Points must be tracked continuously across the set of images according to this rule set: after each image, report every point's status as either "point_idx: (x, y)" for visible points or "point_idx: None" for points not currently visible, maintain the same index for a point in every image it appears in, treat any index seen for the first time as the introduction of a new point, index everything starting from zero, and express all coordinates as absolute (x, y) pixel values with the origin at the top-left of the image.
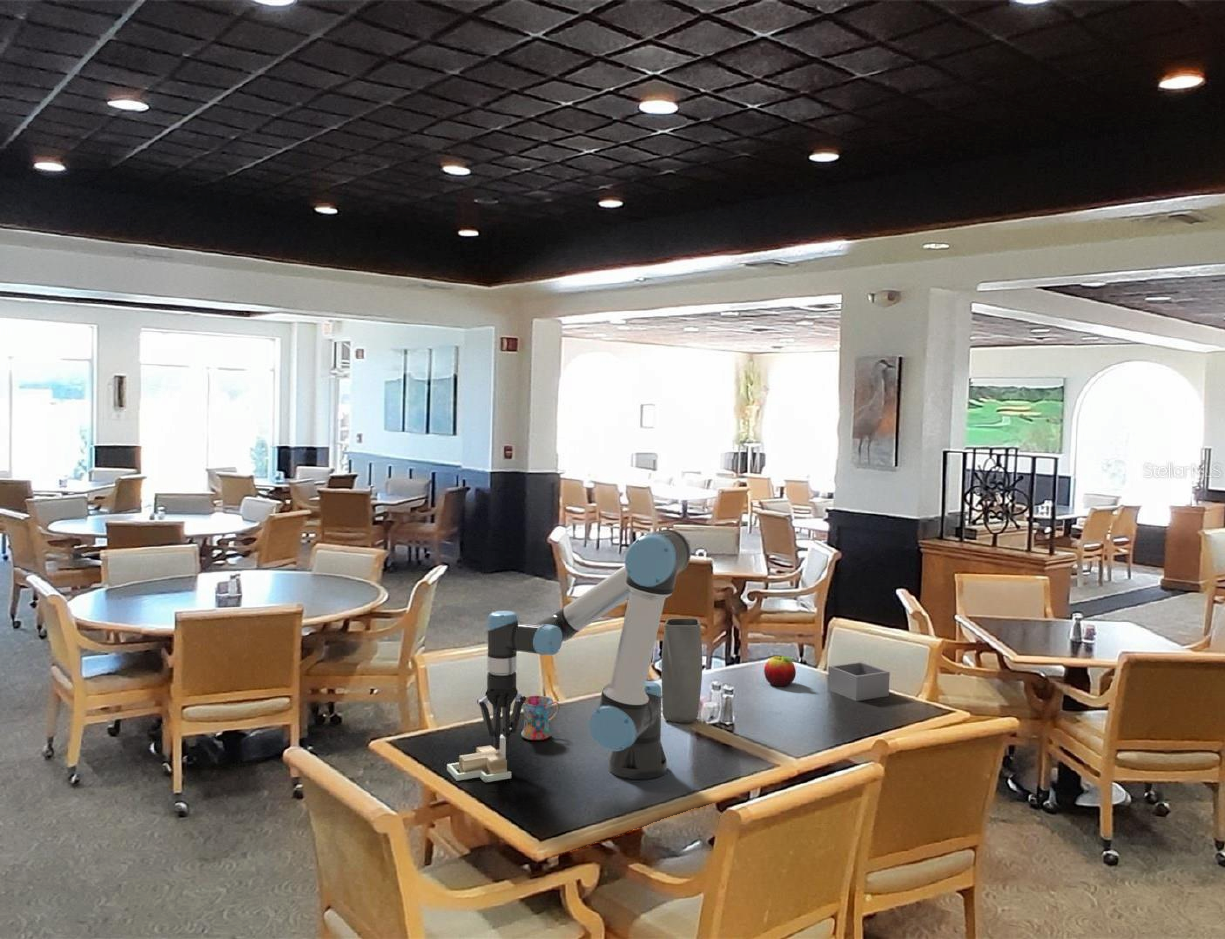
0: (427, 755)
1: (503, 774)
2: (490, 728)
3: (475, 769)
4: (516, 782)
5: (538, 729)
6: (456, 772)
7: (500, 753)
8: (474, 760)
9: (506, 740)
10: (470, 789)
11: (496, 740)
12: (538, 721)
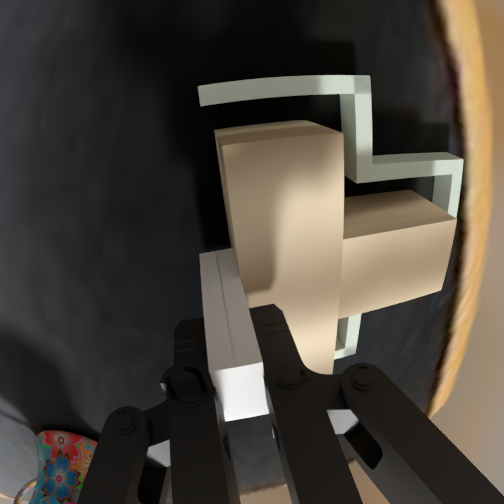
0: (409, 379)
1: (252, 79)
2: (402, 423)
3: (376, 204)
4: (184, 19)
5: (60, 459)
6: (456, 186)
7: (240, 279)
8: (408, 223)
9: (195, 362)
10: (426, 35)
11: (287, 354)
12: (58, 482)
